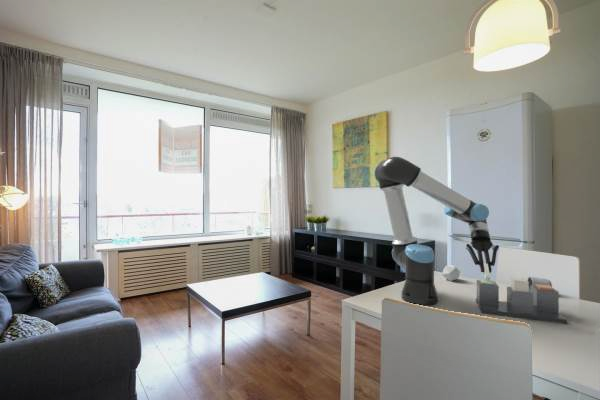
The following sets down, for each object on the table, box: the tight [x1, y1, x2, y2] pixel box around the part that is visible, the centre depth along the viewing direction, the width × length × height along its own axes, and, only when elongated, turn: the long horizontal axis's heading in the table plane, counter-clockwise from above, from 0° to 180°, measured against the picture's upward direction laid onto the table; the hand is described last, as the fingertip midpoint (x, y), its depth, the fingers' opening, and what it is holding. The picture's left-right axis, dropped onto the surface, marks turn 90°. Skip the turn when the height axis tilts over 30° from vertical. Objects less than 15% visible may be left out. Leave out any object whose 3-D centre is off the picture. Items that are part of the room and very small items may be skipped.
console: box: [475, 279, 568, 325], centre depth 115 cm, size 26×13×10 cm, turn 68°
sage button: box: [479, 279, 496, 285], centre depth 121 cm, size 4×4×8 cm
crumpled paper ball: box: [442, 264, 461, 282], centre depth 160 cm, size 8×9×10 cm
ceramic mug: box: [526, 276, 553, 291], centre depth 139 cm, size 10×8×7 cm
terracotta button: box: [535, 284, 555, 291], centre depth 114 cm, size 4×4×8 cm
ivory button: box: [510, 276, 529, 292], centre depth 112 cm, size 4×4×8 cm
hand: (487, 278), depth 121 cm, fingers closed
